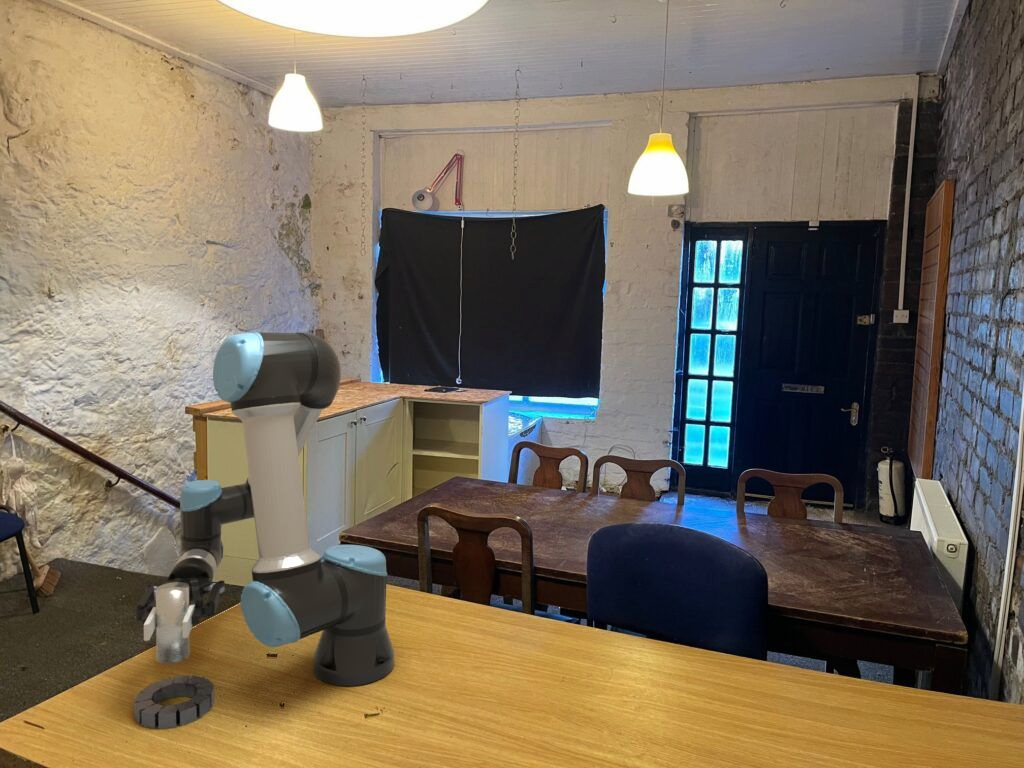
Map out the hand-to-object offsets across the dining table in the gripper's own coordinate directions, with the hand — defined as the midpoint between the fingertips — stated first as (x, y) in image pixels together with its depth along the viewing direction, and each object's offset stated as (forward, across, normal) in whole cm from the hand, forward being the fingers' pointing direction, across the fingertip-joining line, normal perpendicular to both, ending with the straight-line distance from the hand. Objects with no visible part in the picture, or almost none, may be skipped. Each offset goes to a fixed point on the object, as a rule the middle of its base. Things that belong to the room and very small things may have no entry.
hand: (165, 631), depth 114 cm
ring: (-5, 0, -16) cm, 17 cm away
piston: (-5, 0, -7) cm, 9 cm away
